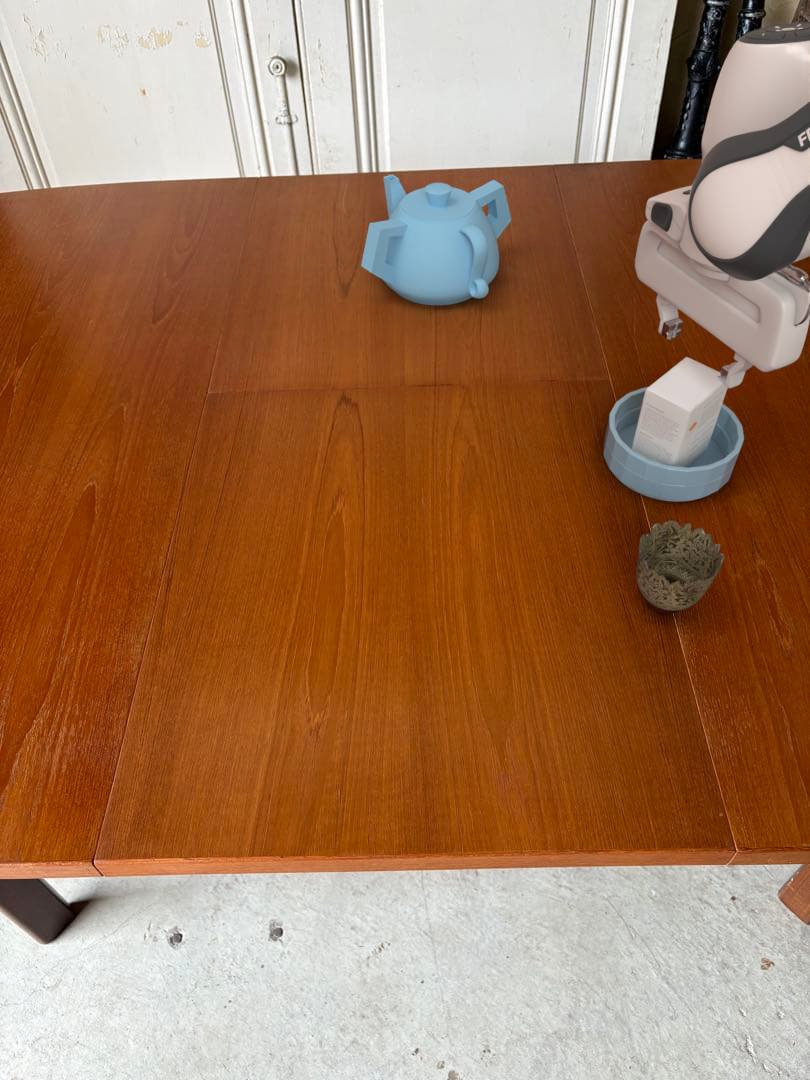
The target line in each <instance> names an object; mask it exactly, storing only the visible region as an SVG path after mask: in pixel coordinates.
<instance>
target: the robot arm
mask: <svg viewBox="0 0 810 1080" xmlns="http://www.w3.org/2000/svg"><path fill="white" fill-rule="evenodd" d="M644 214H645V218H646V221H645V222H644V223H643V225H642V228H641V230H640V233H639V238H638V243H637V247H636V252H635V257H634V269H635V274H636V277H637V279H638V280H639V282H641V283H643V284H644V285H645V286H647V287H648V288H649V289H651V290H652V291H653V292H654V293H656V294H657V295H656V300H655V302H656V306H657V311H658V316H659V319H660V320H659V325H658V330H657V332H658V333H659V334H660V335H661V336H663V338H665V339H666V340H672V339H675V338H677V337H679V336H680V334H681V332H682V330H681V328H683V325H684V321H683V320H682V319H680V317H679V311H680V312H681V313H683V314H684V315H686V316H687V317H688V318H690V319H691V320H692V321H694V322H695V323H696V324H698V325H699V326H700V327H702V328H703V329H704V330H706V331H707V332H708V333H710V334H711V335H713V336H714V337H715V338H716V339H718V340H719V341H720V342H722V343H723V344H724V345H725V346H727V347H729V349H731V350H732V351H733V352H734V356H733V359H734V360H735V361H734V362H731V363H730V364H726V365H723V366H721V368H720V371H719V372H720V374H721V375H720V376H719V378H718V379H719V380H720V381H721V382H722V383H723V384H724V385H726V386H727V387H728V388H727V389H732V388H735V387H737V386H739V385H741V384H742V382H743V381H744V377H745V375H746V371H748V370H749V369H751V368H752V367H755V368H756V369H758V370H759V371H760V372H763V373H769V372H773V371H776V370H779V369H782V368H784V367H787V366H790V365H791V364H793V363H795V362H796V361H798V360H799V358H800V356H801V354H802V351H803V350H804V345H805V342H806V339H807V334H808V330H809V326H810V281H809V278H810V277H809V275H808V273H807V272H806V271H804V270H803V269H802V268H799V267H797V266H794V265H792V264H794V263H796V262H799V261H801V260H804V259H806V258H809V257H810V21H793V22H787V23H776V24H771V25H767V26H763V27H761V28H758V29H757V28H756V29H754V30H751V31H749V32H746V33H744V35H742V36H741V37H739V38H738V39H737V40H736V41H735V43H734V44H733V45H732V47H731V49H730V50H729V52H728V54H727V56H726V58H725V60H724V62H723V65H722V67H721V70H720V72H719V75H718V78H717V80H716V84H715V87H714V90H713V93H712V97H711V100H710V105H709V108H708V112H707V115H706V119H705V124H704V129H703V133H702V137H701V164H700V166H699V168H698V170H697V173H696V176H695V178H694V179H693V182H692V184H691V185H689V186H688V185H687V186H684V187H679V188H676V189H675V188H674V189H672V190H669V191H665V192H662V193H660V194H659V193H658V194H657V195H654V196H652V197H650V198H648V199H647V201H646V205H645V211H644Z"/></svg>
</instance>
